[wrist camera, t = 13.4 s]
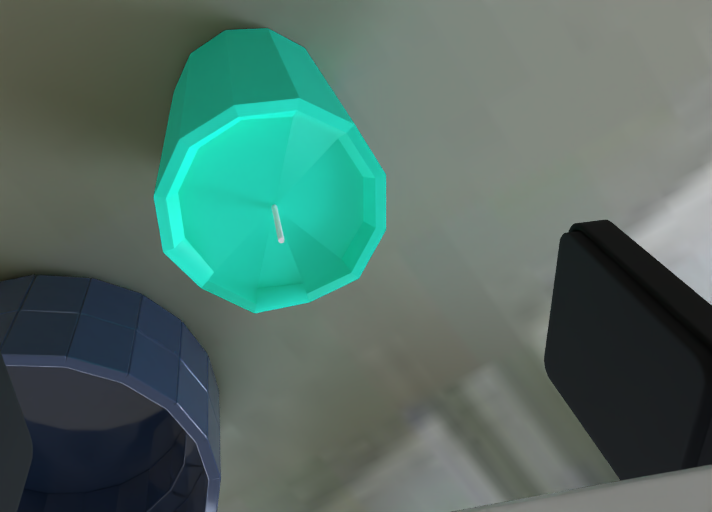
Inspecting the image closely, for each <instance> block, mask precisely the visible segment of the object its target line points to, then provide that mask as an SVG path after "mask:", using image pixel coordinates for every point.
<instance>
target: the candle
mask: <svg viewBox="0 0 712 512" xmlns="http://www.w3.org/2000/svg"><path fill="white" fill-rule="evenodd" d="M154 202H155V208H156V214H157V220H158V225H159V231H160V237H161V243H162V248H163V253H165V254H166V255H167V256H168V257H169V258H170V259H171V260H172V261H173V262H174V263H175V264H176V265H177V266H178V267H179V268H180V269H181V270H182V271H183V272H185V273H186V274H187V275H188V276H189V277H190V278H191V279H192V280H193V281H194V282H195V283H196V284H197V285H198V286H199V287H200V288H202V289H204V290H206V291H208V292H210V293H212V294H214V295H217V296H219V297H221V298H223V299H225V300H227V301H229V302H231V303H233V304H236V305H238V306H240V307H242V308H244V309H246V310H248V311H250V312H253V313H259V312H264V311H269V310H274V309H279V308H284V307H289V306H294V305H299V304H304V303H309V302H311V301H314V300H316V299H318V298H320V297H322V296H324V295H326V294H328V293H330V292H332V291H334V290H336V289H338V288H340V287H343V286H345V285H347V284H349V283H351V282H353V281H355V280H357V279H359V278H360V276H361V274H362V272H363V270H364V269H365V267H366V265H367V263H368V261H369V260H370V258H371V256H372V254H373V252H374V251H375V249H376V247H377V245H378V243H379V242H380V240H381V238H382V236H383V234H384V233H385V231H386V174H385V172H384V171H383V169H382V167H381V166H380V164H379V163H378V161H377V159H376V158H375V156H374V154H373V153H372V151H371V150H370V148H369V146H368V145H367V143H366V142H365V140H364V138H363V137H362V135H361V134H360V132H359V130H358V129H357V127H356V126H355V124H354V122H353V121H352V119H351V118H350V116H349V115H348V113H347V112H346V110H345V109H344V107H343V106H342V104H341V103H340V101H339V100H338V98H337V96H336V95H335V93H334V92H333V90H332V89H331V87H330V86H329V84H328V83H327V81H326V80H325V78H324V77H323V75H322V74H321V72H320V70H319V69H318V67H317V66H316V64H315V63H314V61H313V60H312V58H311V57H310V55H309V54H308V52H307V51H306V49H305V48H304V47H302V46H300V45H298V44H297V43H295V42H293V41H291V40H289V39H287V38H285V37H283V36H282V35H280V34H278V33H276V32H274V31H272V30H270V29H268V28H258V29H236V30H224V31H223V32H221V33H220V34H219V35H217V36H216V37H214V38H213V39H211V40H210V41H208V42H207V43H205V44H204V45H202V46H201V47H199V48H198V49H196V50H195V51H193V52H192V53H191V54H190V56H189V58H188V60H187V63H186V65H185V67H184V69H183V72H182V74H181V76H180V78H179V81H178V83H177V85H176V88H175V90H174V93H173V99H172V104H171V109H170V114H169V119H168V124H167V130H166V135H165V140H164V145H163V150H162V155H161V161H160V166H159V171H158V176H157V181H156V186H155V191H154Z"/></svg>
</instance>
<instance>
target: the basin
mask: <svg viewBox="0 0 712 512" xmlns="http://www.w3.org/2000/svg"><path fill="white" fill-rule="evenodd" d="M0 351H1V354H2V357H3V360H4V363H5V365H6V368H7V371H8V374H9V377H10V379H11V382H12V385H13V388H14V391H15V393H16V396H17V399H18V402H19V405H20V407H21V410H22V413H23V416H24V419H25V421H26V424H27V427H28V430H29V433H30V436H31V439H32V445H33V455H32V462H31V465H30V469H29V472H28V476H27V479H26V482H25V486H24V489H23V493H22V496H21V500H20V503H19V506H18V510H17V512H217V508H218V499H219V491H220V482H221V460H220V410H219V389H218V385H217V382H216V379H215V375H214V372H213V369H212V365H211V362H210V359H209V356H208V355H207V353H206V351H205V350H204V349H203V348H202V346H201V345H200V344H199V342H198V341H197V340H196V339H195V337H194V336H193V335H192V333H191V332H190V331H189V330H188V328H187V327H186V326H185V324H184V323H183V322H181V320H180V319H178V318H177V317H175V316H174V315H172V314H171V313H169V312H168V311H166V310H165V309H163V308H162V307H160V306H159V305H158V304H156V303H155V302H153V301H152V300H150V299H149V298H147V297H146V296H144V295H142V294H141V293H138V292H135V291H132V290H129V289H125V288H122V287H119V286H116V285H113V284H110V283H107V282H104V281H101V280H98V279H95V278H91V279H90V278H84V277H67V276H49V275H30V276H25V277H20V278H16V279H11V280H6V281H1V282H0Z"/></svg>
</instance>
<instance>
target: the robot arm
mask: <svg viewBox="0 0 712 512" xmlns="http://www.w3.org/2000/svg"><path fill="white" fill-rule="evenodd" d="M544 363H545V369H546V372H547V375H548V377H549V379H550V380H551V382H552V383H553V384H554V386H555V387H556V389H557V390H558V392H559V393H560V394H561V396H562V397H563V399H564V400H565V402H566V403H567V404H568V406H569V407H570V409H571V410H572V412H573V413H574V414H575V416H576V417H577V419H578V420H579V422H580V423H581V424H582V426H583V427H584V429H585V430H586V431H587V433H588V434H589V436H590V437H591V439H592V440H593V441H594V443H595V444H596V446H597V447H598V449H599V450H600V451H601V453H602V454H603V456H604V457H605V459H606V460H607V461H608V463H609V464H610V466H611V467H612V469H613V470H614V471H615V473H616V474H617V476H618V477H619V479H620V480H621V481H616V482H611V483H605V484H600V485H594V486H589V487H583V488H578V489H572V490H567V491H561V492H556V493H550V494H545V495H539V496H534V497H528V498H523V499H517V500H512V501H506V502H501V503H495V504H490V505H484V506H479V507H474V508H468V509H463V510H458V511H452V512H712V305H710V304H709V303H708V302H707V301H706V300H704V299H703V298H702V297H701V296H700V295H698V294H697V293H696V292H695V291H694V290H692V289H691V288H690V287H689V286H688V285H686V284H685V283H684V282H683V281H681V280H680V279H679V278H678V277H677V276H675V275H674V274H673V273H672V272H671V271H669V270H668V269H667V268H666V267H665V266H663V265H662V264H661V263H660V262H659V261H657V260H656V259H655V258H654V257H653V256H651V255H650V254H649V253H648V252H647V251H645V250H644V249H643V248H642V247H641V246H639V245H638V244H637V243H636V242H635V241H633V240H632V239H631V238H630V237H629V236H627V235H626V234H625V233H624V232H623V231H621V230H620V229H619V228H618V227H617V226H615V225H614V224H613V223H612V222H610V221H608V220H599V221H591V222H583V223H575V224H573V225H572V226H571V228H570V230H569V233H564V234H563V235H562V237H561V239H560V244H559V251H558V259H557V266H556V274H555V281H554V289H553V296H552V304H551V311H550V319H549V326H548V334H547V341H546V348H545V356H544ZM32 455H33V445H32V439H31V436H30V433H29V430H28V427H27V424H26V421H25V419H24V416H23V413H22V410H21V407H20V405H19V402H18V399H17V396H16V393H15V391H14V388H13V385H12V382H11V379H10V377H9V374H8V371H7V368H6V365H5V363H4V360H3V357H2V354H1V351H0V512H17V510H18V506H19V503H20V500H21V496H22V493H23V489H24V486H25V482H26V479H27V476H28V472H29V469H30V465H31V462H32Z"/></svg>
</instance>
